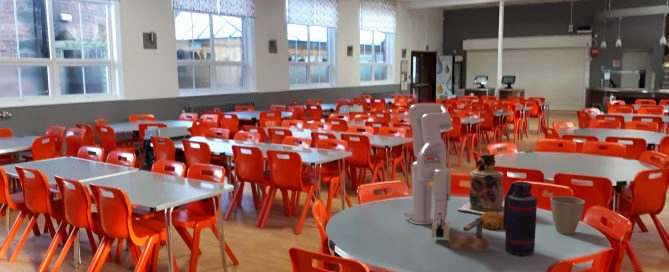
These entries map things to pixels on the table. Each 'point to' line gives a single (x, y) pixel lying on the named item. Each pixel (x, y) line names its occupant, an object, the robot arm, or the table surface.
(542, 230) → the table surface
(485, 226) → the croissant
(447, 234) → the brushed brass block
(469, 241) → the plane body
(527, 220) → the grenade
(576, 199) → the plant pot
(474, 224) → the lever
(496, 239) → the table surface
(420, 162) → the robot arm
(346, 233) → the table surface
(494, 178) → the cookie jar
